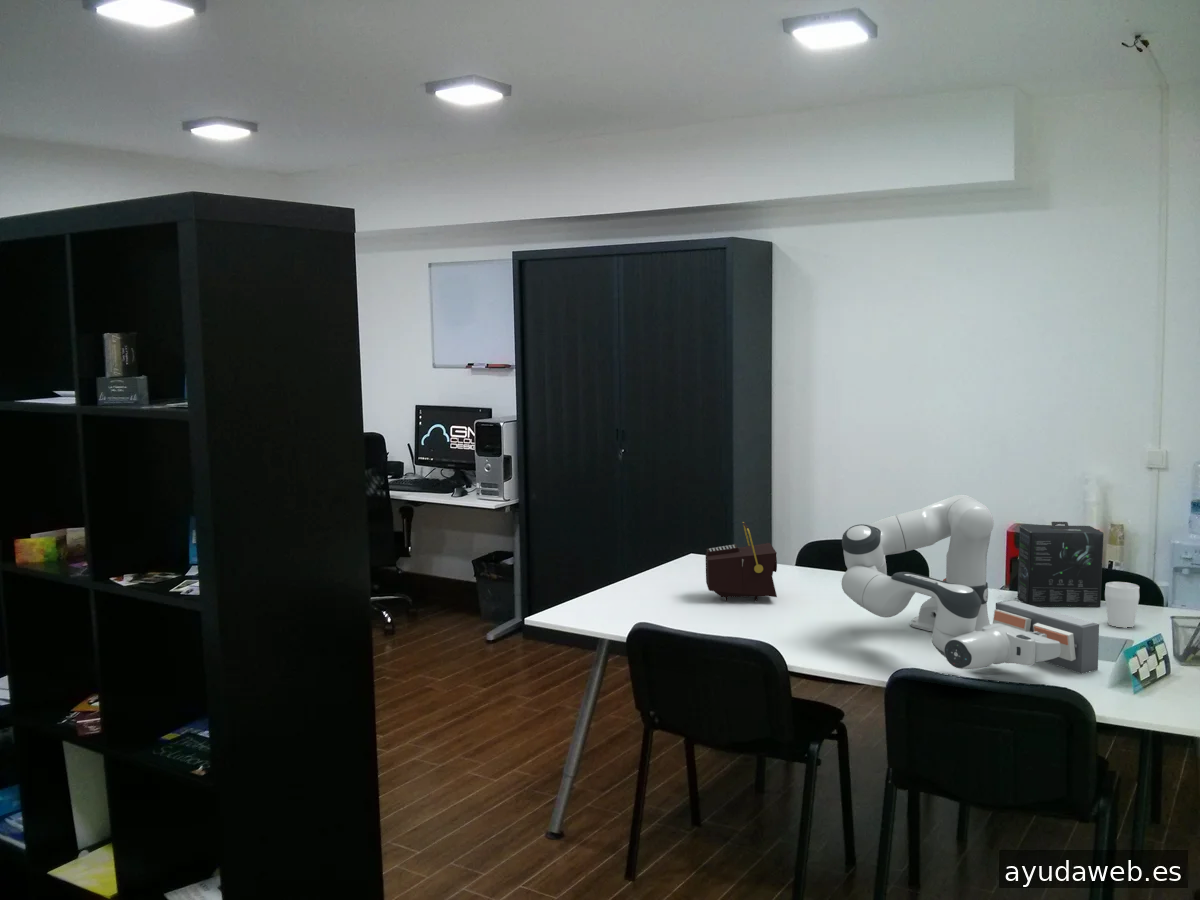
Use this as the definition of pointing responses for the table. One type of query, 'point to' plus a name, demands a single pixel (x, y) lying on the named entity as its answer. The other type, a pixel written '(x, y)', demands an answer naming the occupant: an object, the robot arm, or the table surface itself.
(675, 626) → the table surface
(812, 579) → the table surface
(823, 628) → the table surface
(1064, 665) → the switch block
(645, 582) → the table surface
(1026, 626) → the block
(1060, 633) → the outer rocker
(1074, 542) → the headset box
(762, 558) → the dark brown boxy piece
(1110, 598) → the cup
